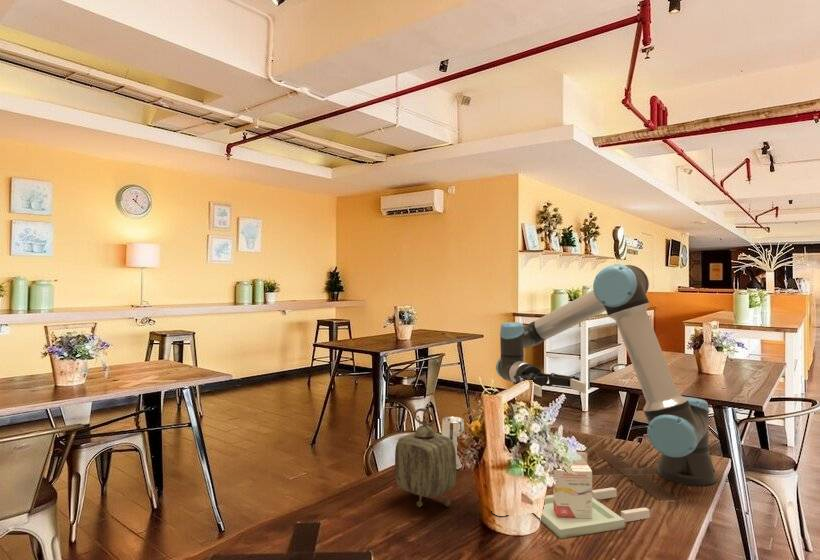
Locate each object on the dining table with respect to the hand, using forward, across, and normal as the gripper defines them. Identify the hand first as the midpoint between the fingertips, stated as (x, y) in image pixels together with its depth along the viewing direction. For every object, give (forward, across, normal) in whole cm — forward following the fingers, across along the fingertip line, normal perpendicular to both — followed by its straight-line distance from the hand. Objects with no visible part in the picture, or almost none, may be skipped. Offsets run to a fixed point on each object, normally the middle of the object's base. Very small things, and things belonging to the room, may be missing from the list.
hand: (562, 389), depth 142 cm
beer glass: (-25, +23, -28) cm, 44 cm away
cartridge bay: (+13, -8, -28) cm, 32 cm away
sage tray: (+14, +6, -28) cm, 32 cm away
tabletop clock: (-3, +39, -28) cm, 48 cm away
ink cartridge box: (+14, +6, -28) cm, 31 cm away
